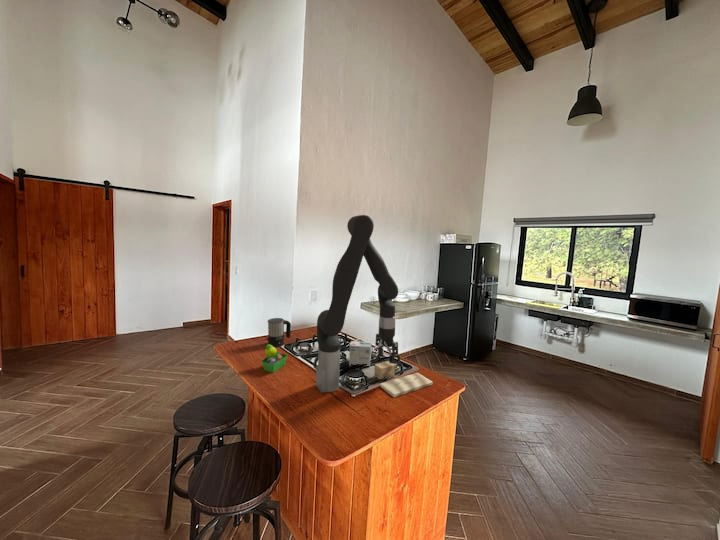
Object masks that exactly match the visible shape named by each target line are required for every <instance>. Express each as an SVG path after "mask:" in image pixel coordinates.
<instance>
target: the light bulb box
mask: <svg viewBox="0 0 720 540" xmlns="http://www.w3.org/2000/svg"><path fill="white" fill-rule="evenodd" d="M348 358H349V361H348V365H349V366H351V364H355V363H356V364H367V365H368V366H370V367H371V362H370V361H372V359H371V358H372V342H371V341H358V340H356V341H354V340H351V341H350V344H349V357H348Z"/></svg>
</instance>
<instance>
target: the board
mask: <svg viewBox="0 0 720 540" xmlns="http://www.w3.org/2000/svg"><path fill="white" fill-rule="evenodd" d="M433 384H434V382H433V381H432V380H430V379H429V378H427V377H425V376H424V375H422V374H421V373H419V372H415V373H411V374H408V375H404V376H401V377H398V378H394V379H391V380H386V381H384V382H381V383H379V387H380V388H381V389H382V390H384V391H385V392H386V393H388V394H389V395H390V396H391V397H393V398H397V397H399V396H402V395H406V394H409V393H412V392H415V391H418V390H420V389H423V388H426V387H427V388H428V387H429V386H432V385H433Z"/></svg>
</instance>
